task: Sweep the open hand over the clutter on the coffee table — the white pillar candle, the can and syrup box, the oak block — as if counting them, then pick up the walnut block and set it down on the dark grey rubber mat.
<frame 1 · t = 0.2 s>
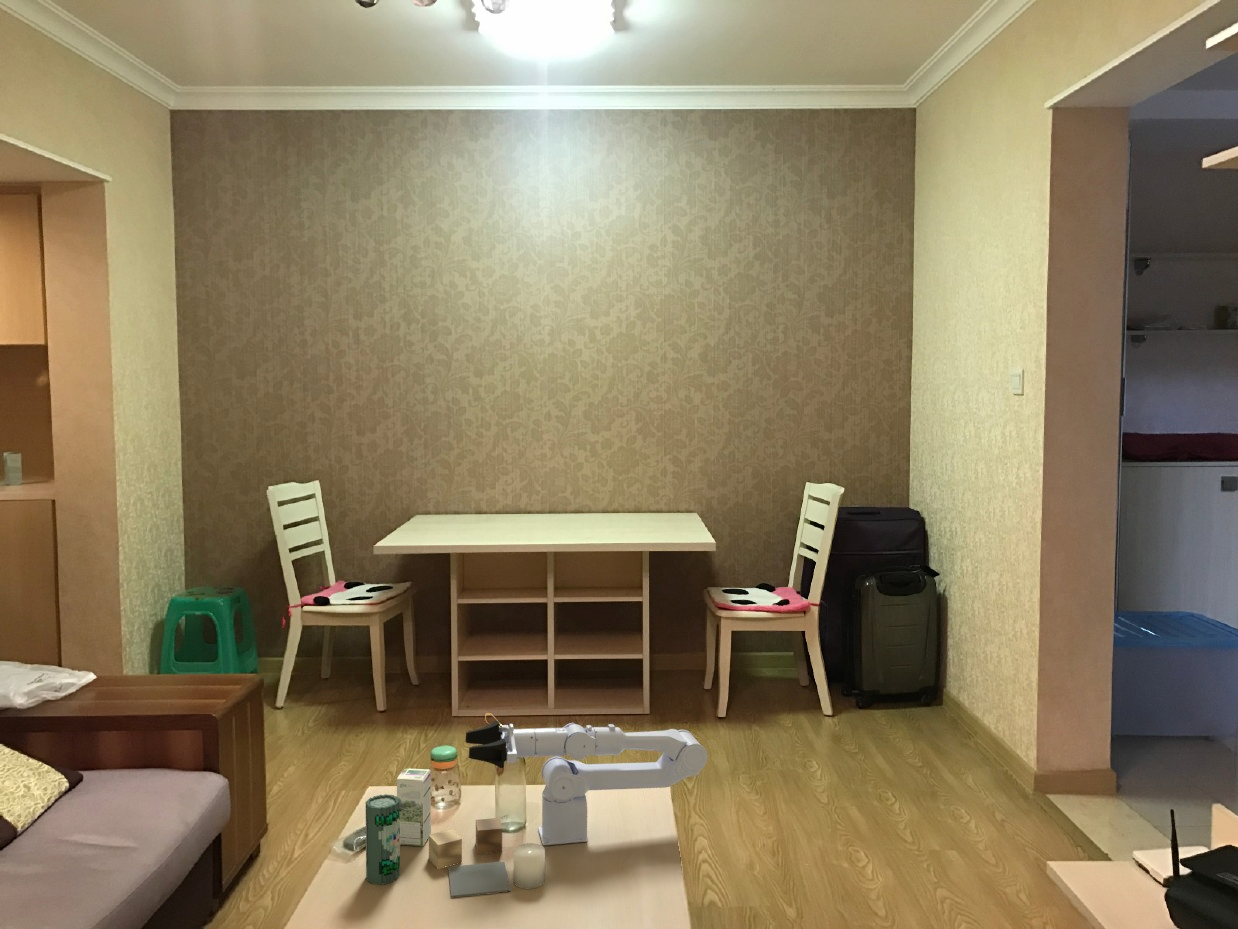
hand: (467, 745, 196), 21 cm above the table, tool horizontal, fingers open, 7 cm apart
syrup box: (414, 841, 200), on the table
walnut block: (488, 847, 197), on the table
white pillar candle: (529, 880, 184), on the table
rubber mat: (478, 880, 184), on the table
can: (383, 877, 185), on the table
oak block: (445, 861, 191), on the table
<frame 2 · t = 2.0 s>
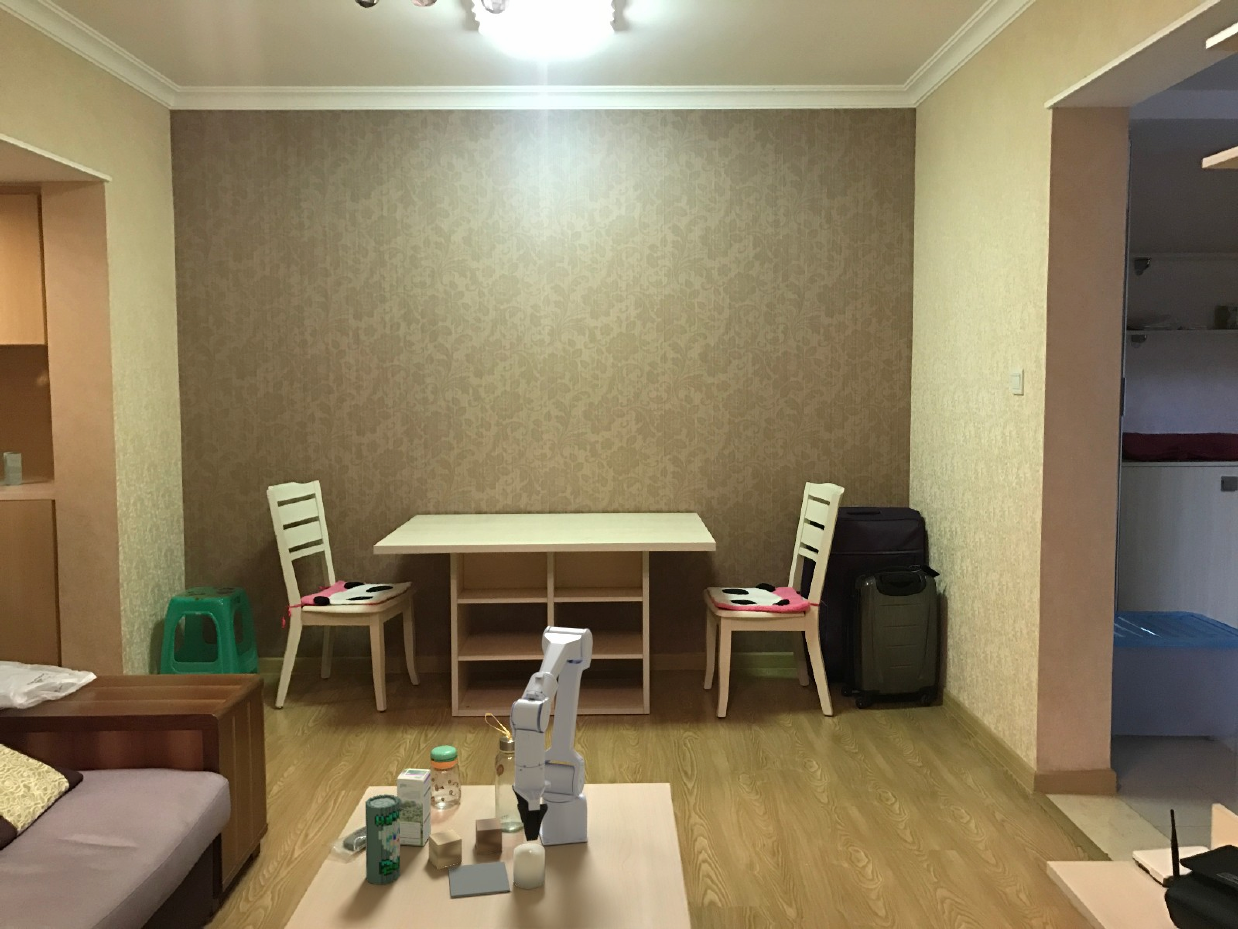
hand: (529, 830, 183), 10 cm above the table, tool pointing down, fingers open, 7 cm apart
nothing on the table moved.
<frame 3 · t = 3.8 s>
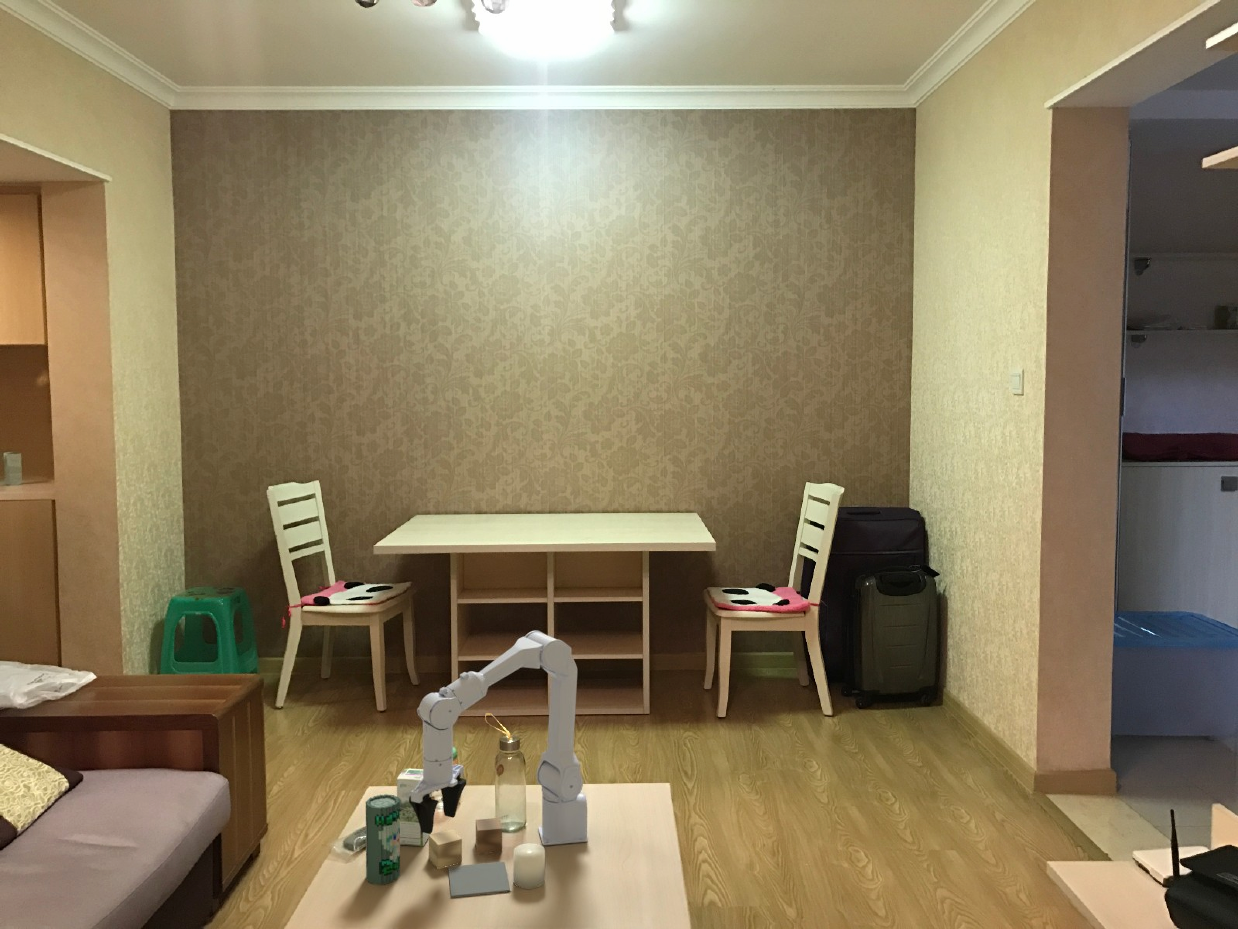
hand: (438, 824, 186), 10 cm above the table, tool pointing down, fingers open, 7 cm apart
nothing on the table moved.
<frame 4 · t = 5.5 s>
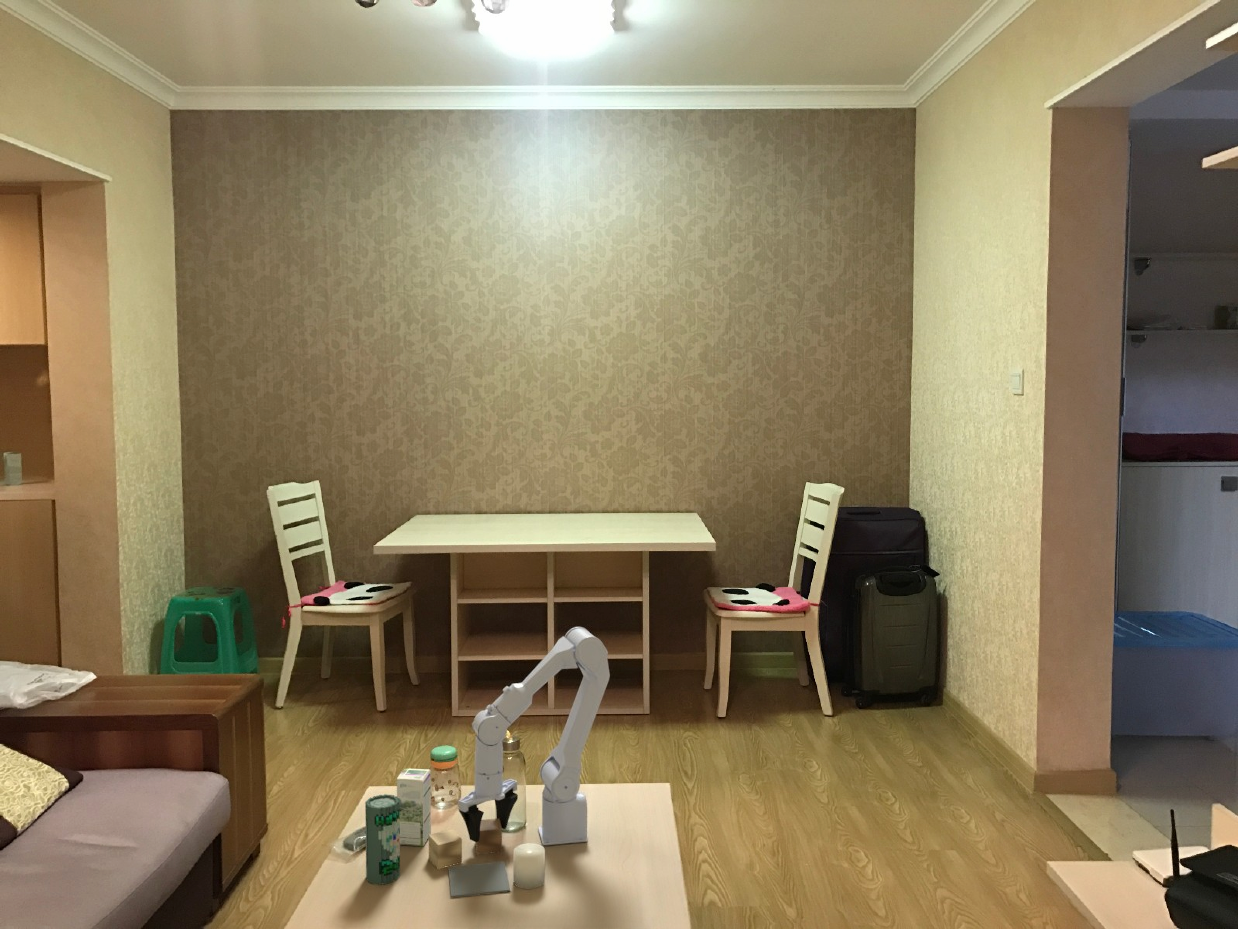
hand: (488, 834, 197), 3 cm above the table, tool pointing down, fingers open, 7 cm apart
nothing on the table moved.
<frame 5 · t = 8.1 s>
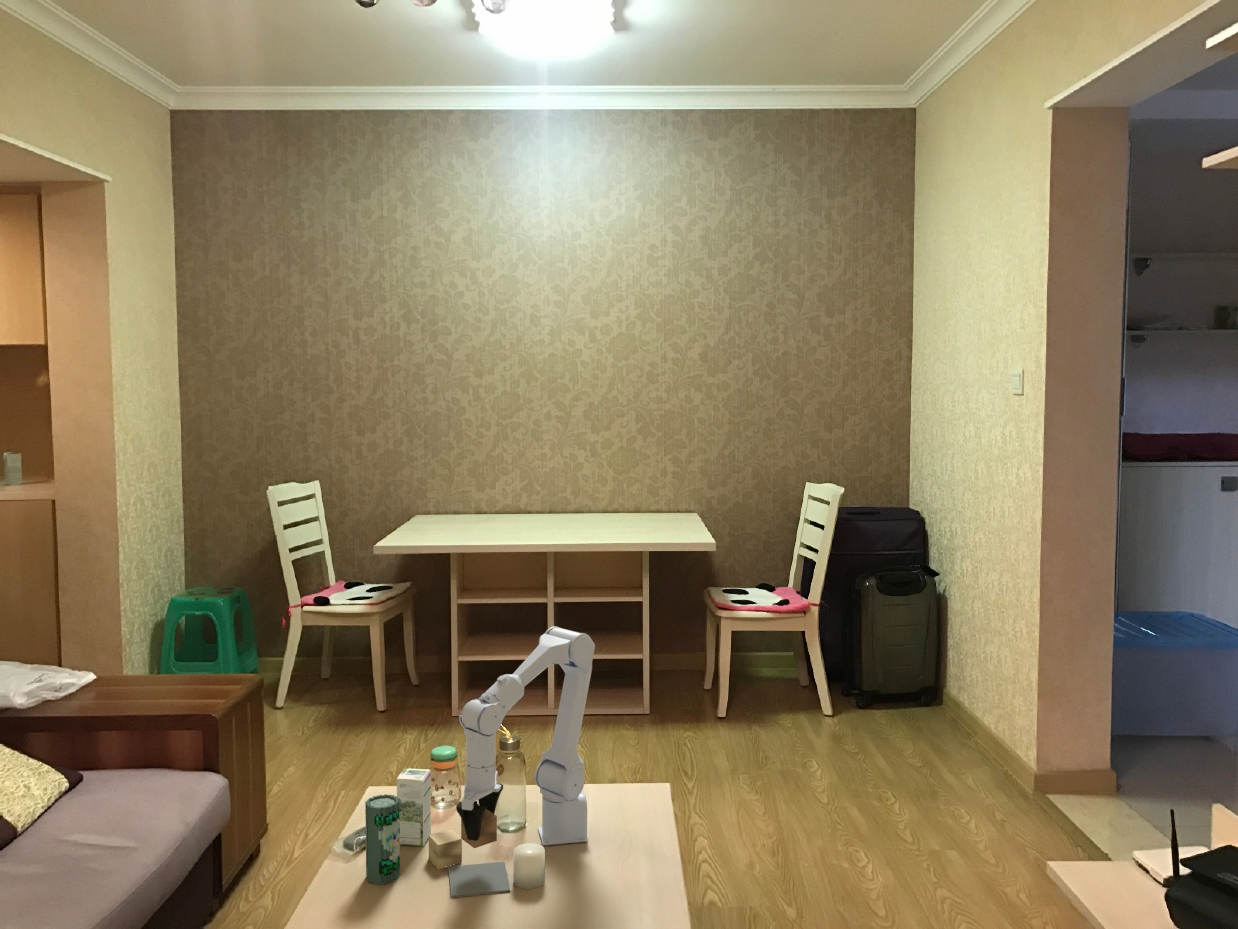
hand: (480, 830, 186), 9 cm above the table, tool pointing down, fingers closed on walnut block, 7 cm apart
walnut block: (478, 839, 186), point 7 cm above the table, touching gripper
everything else where it was.
when the fingers open (3 cm above the table, at t = 9.9 s): walnut block drops 1 cm, resting on rubber mat.
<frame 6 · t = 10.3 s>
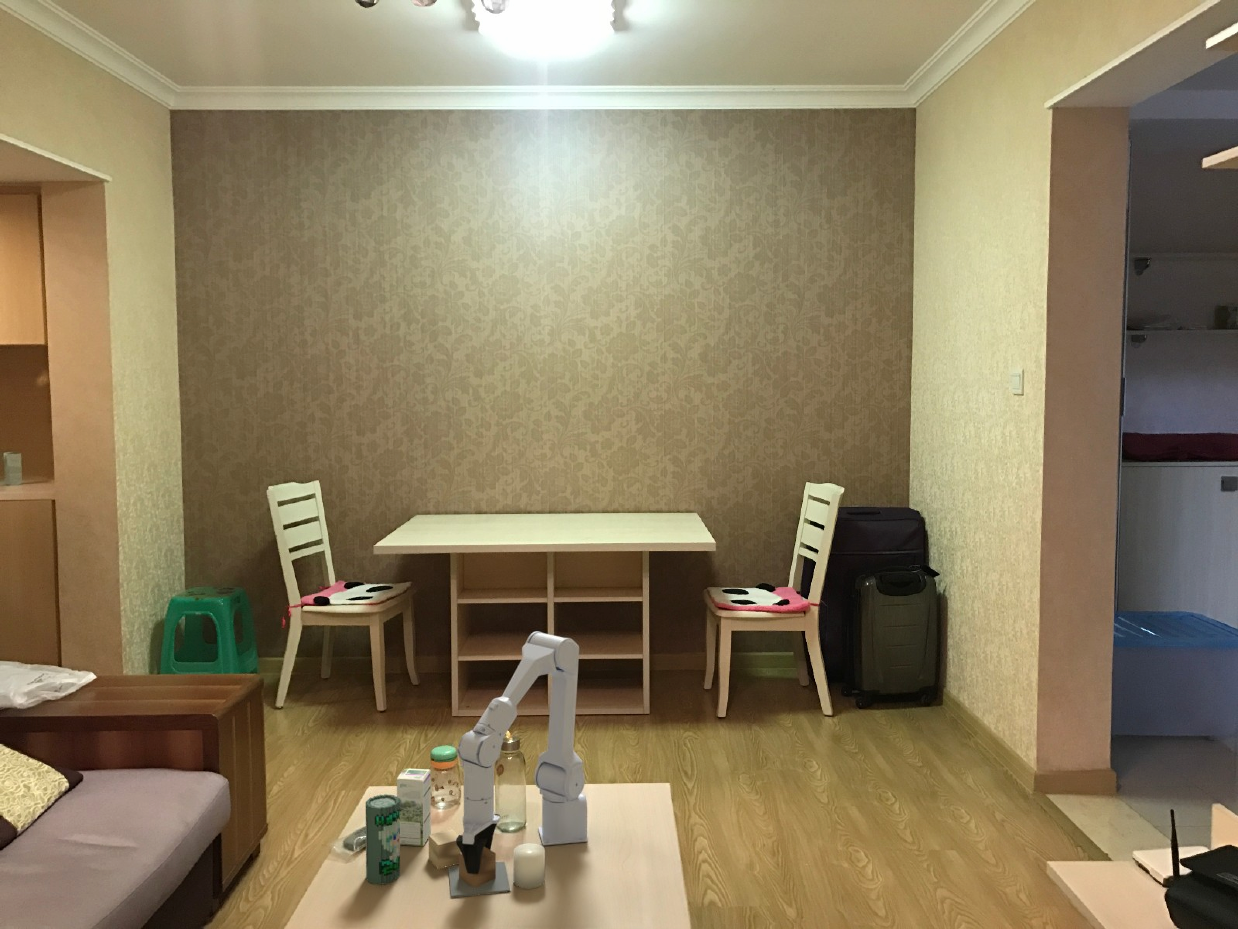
hand: (478, 863, 184), 3 cm above the table, tool pointing down, fingers open, 7 cm apart
walnut block: (477, 878, 184), resting on rubber mat, touching gripper
everything else where it was.
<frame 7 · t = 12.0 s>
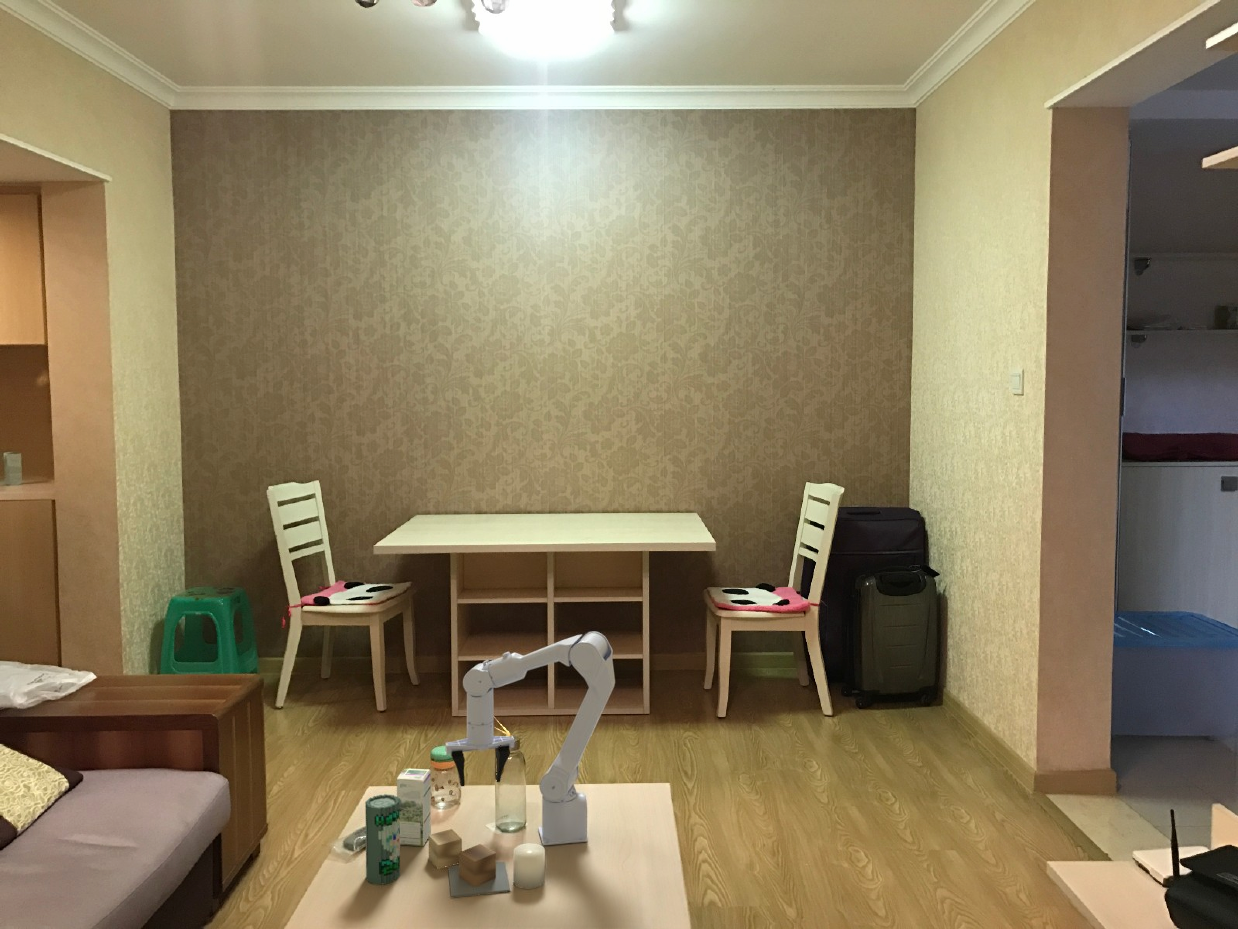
hand: (480, 782, 205), 10 cm above the table, tool pointing down, fingers open, 7 cm apart
walnut block: (477, 877, 184), resting on rubber mat
everything else where it was.
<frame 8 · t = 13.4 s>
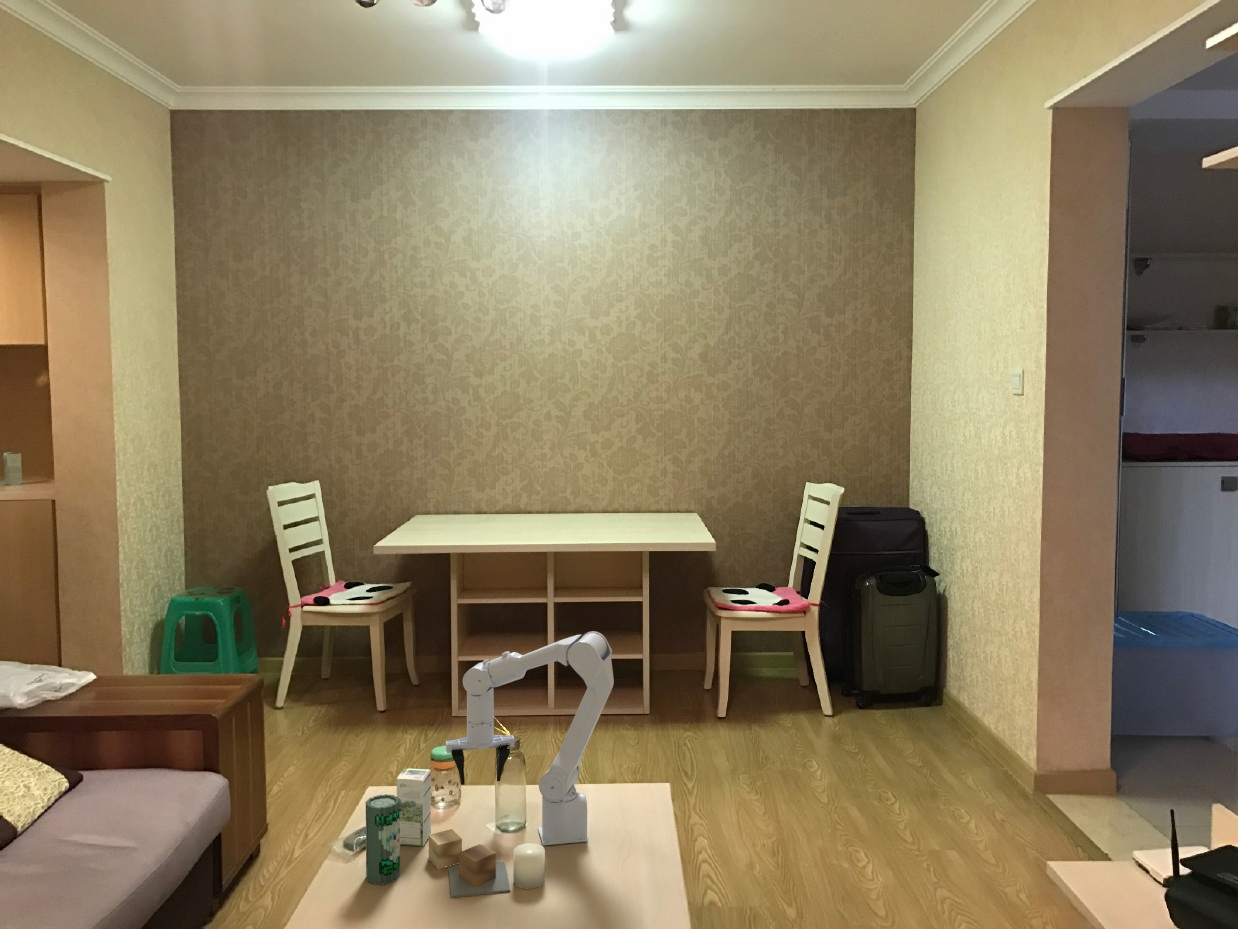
hand: (480, 781, 206), 10 cm above the table, tool pointing down, fingers open, 7 cm apart
nothing on the table moved.
at the end: walnut block inside the target area on the rubber mat (0.3 cm from its centre), point 0.4 cm above the rubber mat's base; walnut block tilted 0°; the gripper is holding nothing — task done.
